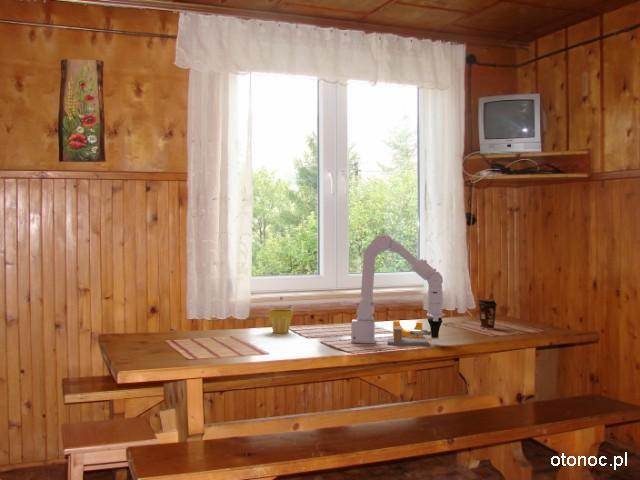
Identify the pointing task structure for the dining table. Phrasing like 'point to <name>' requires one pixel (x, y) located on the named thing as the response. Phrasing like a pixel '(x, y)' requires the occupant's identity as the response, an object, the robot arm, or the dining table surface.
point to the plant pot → (280, 319)
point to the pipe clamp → (407, 333)
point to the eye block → (400, 341)
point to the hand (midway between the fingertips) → (434, 336)
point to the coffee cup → (487, 313)
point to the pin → (422, 333)
